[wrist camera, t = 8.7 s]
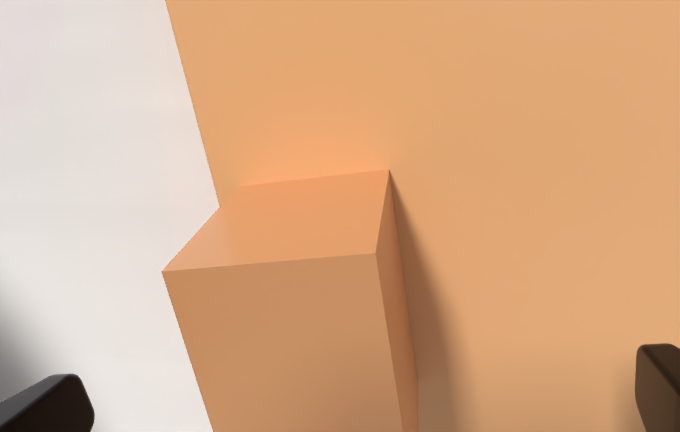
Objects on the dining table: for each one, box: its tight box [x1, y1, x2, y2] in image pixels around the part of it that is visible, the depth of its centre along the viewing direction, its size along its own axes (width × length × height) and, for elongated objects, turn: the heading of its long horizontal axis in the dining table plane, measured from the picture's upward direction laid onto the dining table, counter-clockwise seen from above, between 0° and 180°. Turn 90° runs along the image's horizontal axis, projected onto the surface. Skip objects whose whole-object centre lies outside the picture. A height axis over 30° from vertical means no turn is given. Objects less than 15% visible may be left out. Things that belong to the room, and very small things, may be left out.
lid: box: [162, 0, 680, 432], centre depth 10 cm, size 15×15×5 cm
